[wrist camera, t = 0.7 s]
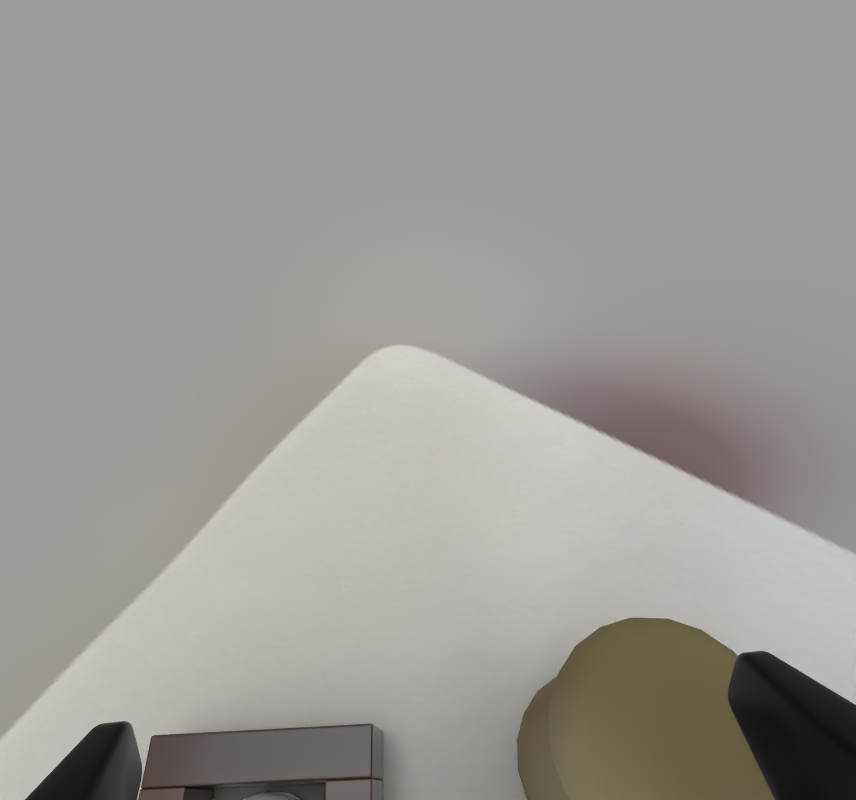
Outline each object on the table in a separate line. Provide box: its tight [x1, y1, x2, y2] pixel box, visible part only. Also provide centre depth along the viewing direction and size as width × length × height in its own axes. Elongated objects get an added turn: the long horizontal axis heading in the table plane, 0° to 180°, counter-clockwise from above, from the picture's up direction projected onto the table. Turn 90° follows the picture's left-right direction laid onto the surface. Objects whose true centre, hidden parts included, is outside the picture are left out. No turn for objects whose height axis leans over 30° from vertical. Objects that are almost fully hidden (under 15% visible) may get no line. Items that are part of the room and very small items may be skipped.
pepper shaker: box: [517, 618, 775, 800], centre depth 17 cm, size 6×6×11 cm
